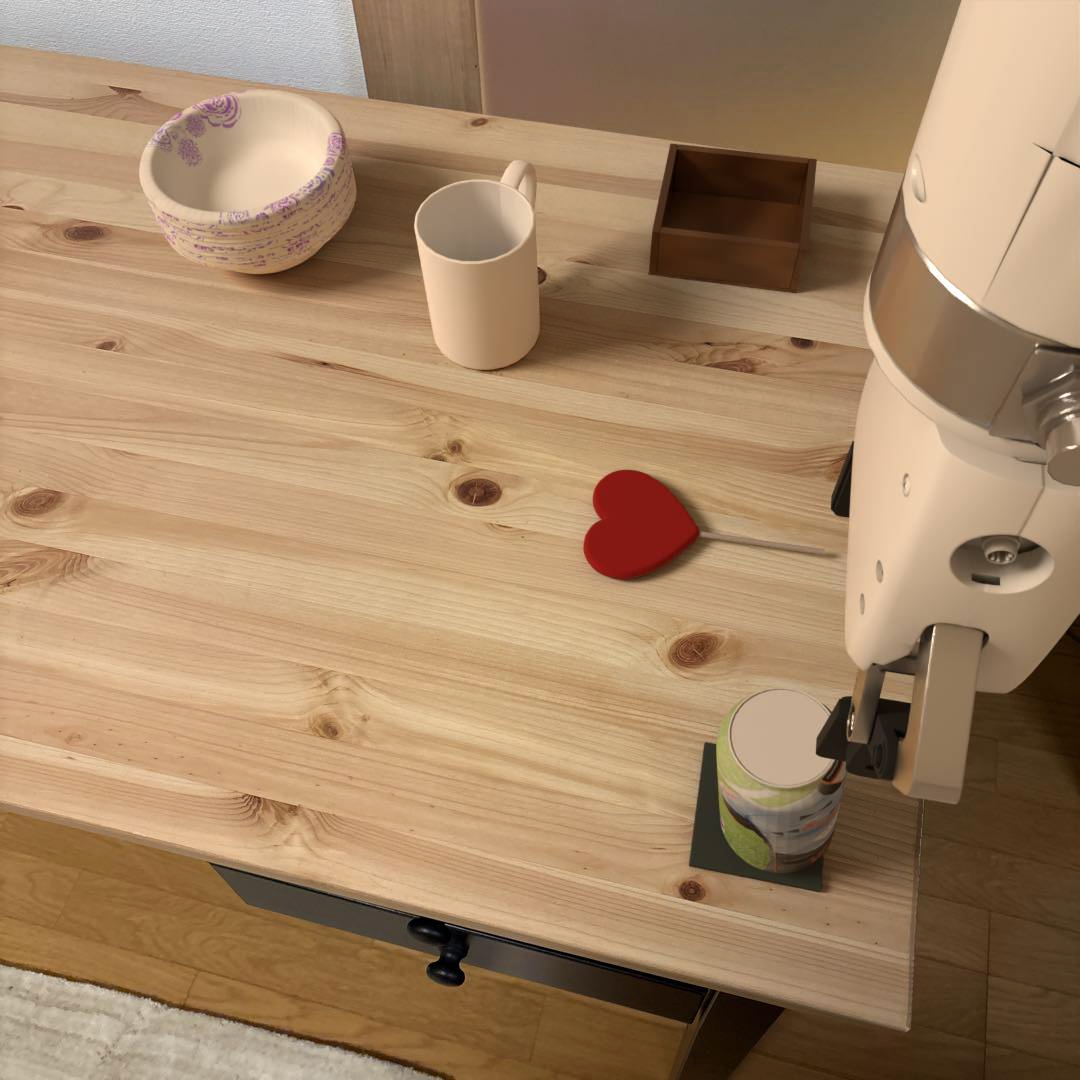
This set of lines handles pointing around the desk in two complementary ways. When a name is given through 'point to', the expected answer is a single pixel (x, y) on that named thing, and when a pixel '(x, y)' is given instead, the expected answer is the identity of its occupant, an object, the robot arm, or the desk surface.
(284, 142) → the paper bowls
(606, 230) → the desk surface
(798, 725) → the beverage can
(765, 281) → the wooden box
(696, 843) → the coaster
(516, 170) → the mug
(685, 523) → the lollipop
